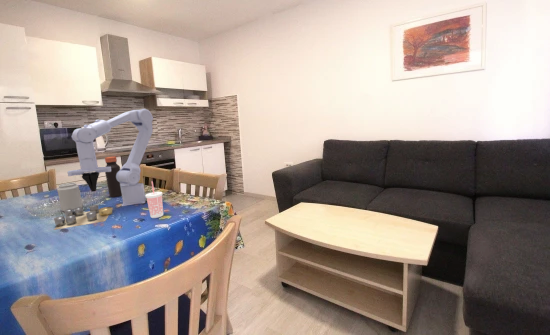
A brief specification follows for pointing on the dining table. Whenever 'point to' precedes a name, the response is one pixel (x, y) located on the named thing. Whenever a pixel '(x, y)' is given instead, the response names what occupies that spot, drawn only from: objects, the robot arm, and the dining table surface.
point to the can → (69, 196)
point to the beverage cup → (155, 203)
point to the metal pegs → (76, 215)
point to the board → (84, 220)
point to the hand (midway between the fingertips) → (93, 190)
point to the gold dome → (105, 211)
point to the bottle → (113, 177)
